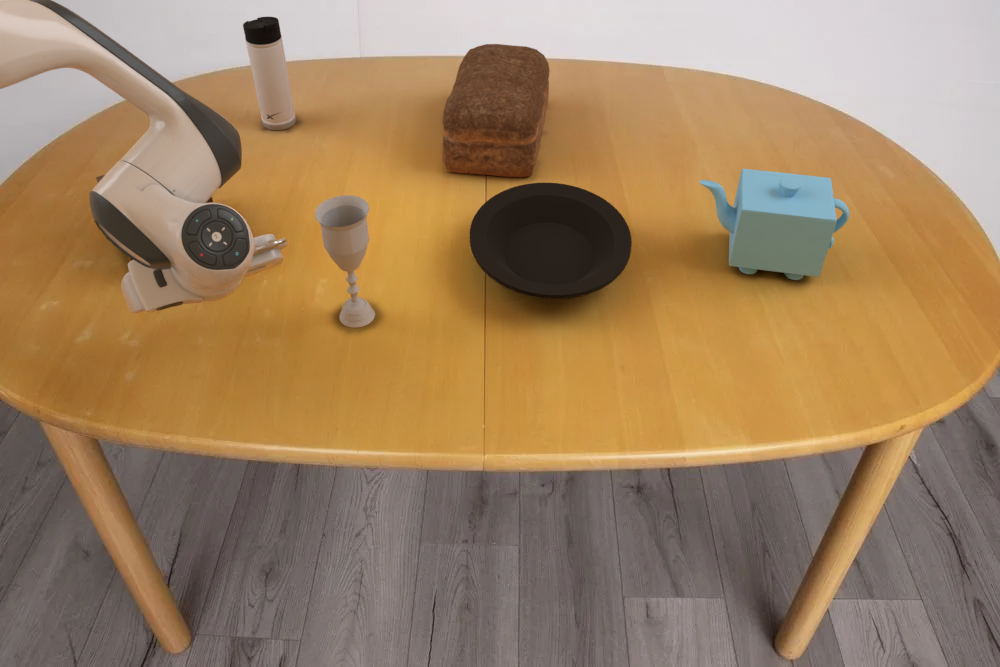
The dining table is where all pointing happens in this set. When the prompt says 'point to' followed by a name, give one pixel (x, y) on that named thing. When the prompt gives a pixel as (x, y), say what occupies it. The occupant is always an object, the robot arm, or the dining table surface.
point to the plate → (550, 240)
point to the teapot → (779, 222)
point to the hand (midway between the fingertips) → (202, 282)
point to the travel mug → (270, 72)
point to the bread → (496, 111)
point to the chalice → (347, 249)
